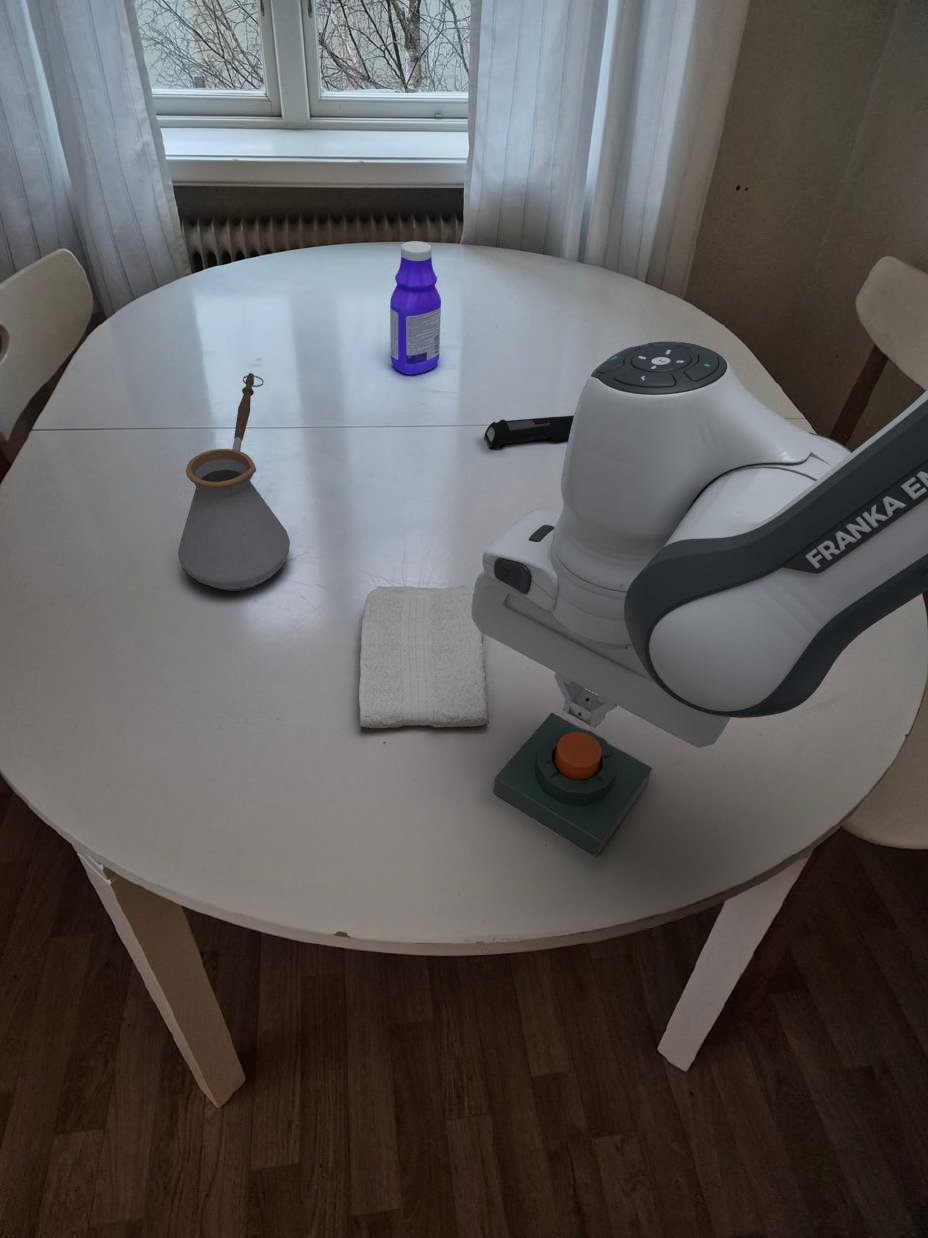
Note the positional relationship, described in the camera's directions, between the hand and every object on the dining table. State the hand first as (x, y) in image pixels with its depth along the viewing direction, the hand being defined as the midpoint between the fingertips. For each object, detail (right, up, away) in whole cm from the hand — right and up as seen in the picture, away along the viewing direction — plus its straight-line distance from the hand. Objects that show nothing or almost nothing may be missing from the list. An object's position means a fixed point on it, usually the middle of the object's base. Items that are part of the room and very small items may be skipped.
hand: (584, 715), depth 67 cm
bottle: (-17, +45, +60) cm, 77 cm away
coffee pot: (-33, +16, +29) cm, 47 cm away
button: (0, -4, +4) cm, 6 cm away
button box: (0, -7, +6) cm, 9 cm away
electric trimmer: (+1, +31, +47) cm, 57 cm away
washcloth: (-13, +3, +16) cm, 21 cm away
